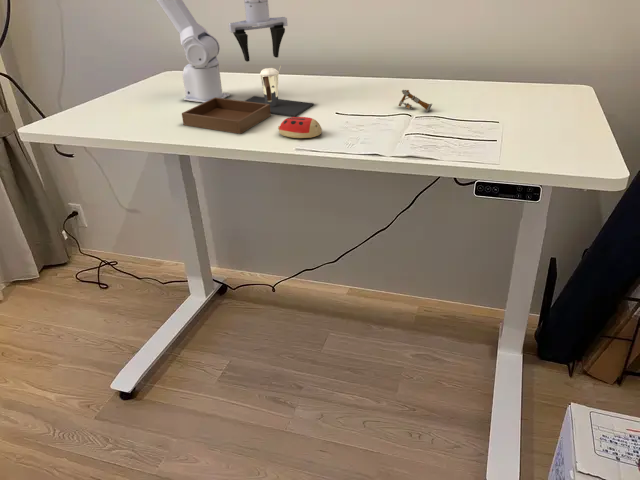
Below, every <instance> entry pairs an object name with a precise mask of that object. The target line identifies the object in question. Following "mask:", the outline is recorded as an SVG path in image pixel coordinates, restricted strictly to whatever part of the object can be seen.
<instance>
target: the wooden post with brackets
mask: <svg viewBox="0 0 640 480" xmlns="http://www.w3.org/2000/svg"><path fill="white" fill-rule="evenodd" d="M401 93H402V95H403V96H402V98H401V100H400V101H399V103H398V106H399V107H402V105H403V106H404V107H405V108H407V109H408V110H413V109H414V107H413V105H412V104H410V103H409V102H405V100H408V99H410V100H411V101H412V102H414V103H416V104H418V105H420V107H422V108H424V109H425V112H426V113H428V112H429V111H430V109H431V108H432V106H433V103H427V102H426V101H423V100H422V99H420V98H419V97H417V96H416V95H413V94H412V93H411V92H410V90H409V89H402V90H401Z"/></svg>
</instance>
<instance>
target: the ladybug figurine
mask: <svg viewBox="0 0 640 480" xmlns="http://www.w3.org/2000/svg"><path fill="white" fill-rule="evenodd" d="M277 130H278V133H279V134H280V135H281V136H283V137H286V138H292V139H311V138H315V137H318V136H320V135H321V134H322V133H323V129H322V126H321V124H320V123H319V122H318V121H317V120H316V119H314V118H312V117H308V116H307V117H306V116H296V117H292V116H290V117H287V118H285V119H284V120H282V122H281V123H280V125H278V126H277Z"/></svg>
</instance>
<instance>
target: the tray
mask: <svg viewBox="0 0 640 480" xmlns="http://www.w3.org/2000/svg"><path fill="white" fill-rule="evenodd" d="M271 116H272V114H271V112H270V104H263V103H256V102H248V101H246V100H240V99H239V100H238V99H233V98H232V99H231V98H216V97H215V98H213V99H211V100H208V101H206V102H204V103H203V102H201V103H200V104H198V105H196V106H194V107H192V108H190V109H187V110H185V111H184V112H181V119H182V124H183V126H188V127H193V128H201V129H207V130H214V131H219V132H227V133H234V134H239V135H241V134H243V133H245V132H246V131H248V130H249V129H251V128H253V127H255V126H257V125H258V124H260V123H261V122H263V121H265V120H266V119H268V118H271Z"/></svg>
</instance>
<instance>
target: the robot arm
mask: <svg viewBox="0 0 640 480" xmlns="http://www.w3.org/2000/svg"><path fill="white" fill-rule="evenodd" d="M243 1H244V10H245V11H244V12H245V20H241V21H235V22H229V23H228V32H230V33H232V34H233V36H234V38H235V39H236V41H237V43H238V45H239V47H240V49H241V52H242V55H243V59H244V61H245V62H250V52H249V41H248V39H249V38H248V37H249V35H248V34H247V32H246V31H252V30H261V29H269V31H270V37H271V43H272V44H271V45H272V56H273V57H274V58H279V54H280V47H281V43H282V40H283V37H284V35H285V32H286V28H285V27H288V17H286V16H279V17H278V16H277V17H270V9H269V8H270V7H269V0H243ZM156 2H157V3H158V5H159V6H160V8H161V9H162V10H163V12H164V13H165V15H166V16H167V18H168V19H169V21H170V23H171V24H172V26H173V27H174V28H175V30H176V32H177V33H178V34H179V39H180V45H181V47H182V48H183V50H184V54H185V58H186V60H187V62H188V63H187V64H186V65H185V66H184V68H183V70H182V80H183V81H182V82H183V88H184V93H185V97H184V98H183V100H184V101H190V102H197V103H204V102H206V101H208V100H211V99H213V98H215V97H216V98H224V99H226V98H228V97H230V93H226V92H223V85H222V78H221V71H220V63H219V60H218V57H217V56H218V55H219V53H220V42H219V40H218V39H216V38H215V37H214V36H213V35H211V34H210V33H209V32H208V30H207V29H206V28H205V27H204V26H202V25H201V24H199V23H198V22H197V20H196V19H195V17H194V15H193V14H192V13H191V11H190V10H189V8H188V7H187V5H186V4H185V2H184V0H156Z"/></svg>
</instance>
